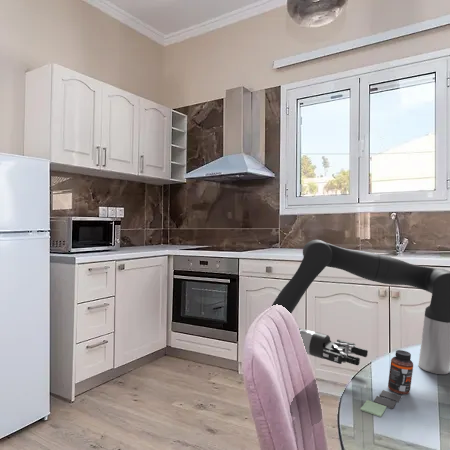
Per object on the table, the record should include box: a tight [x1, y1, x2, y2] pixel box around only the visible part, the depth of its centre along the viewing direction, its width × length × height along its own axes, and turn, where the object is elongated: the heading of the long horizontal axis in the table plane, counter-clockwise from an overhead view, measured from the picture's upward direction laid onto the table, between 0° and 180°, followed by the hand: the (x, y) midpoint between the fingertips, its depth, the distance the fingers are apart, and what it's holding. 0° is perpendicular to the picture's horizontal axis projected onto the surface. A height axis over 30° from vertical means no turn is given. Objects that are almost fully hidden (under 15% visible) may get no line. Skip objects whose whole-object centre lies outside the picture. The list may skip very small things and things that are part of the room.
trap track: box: [360, 389, 402, 418], centre depth 110 cm, size 16×7×1 cm, turn 146°
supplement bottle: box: [387, 349, 414, 395], centre depth 119 cm, size 6×6×11 cm
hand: (363, 357), depth 125 cm, fingers open, 8 cm apart
